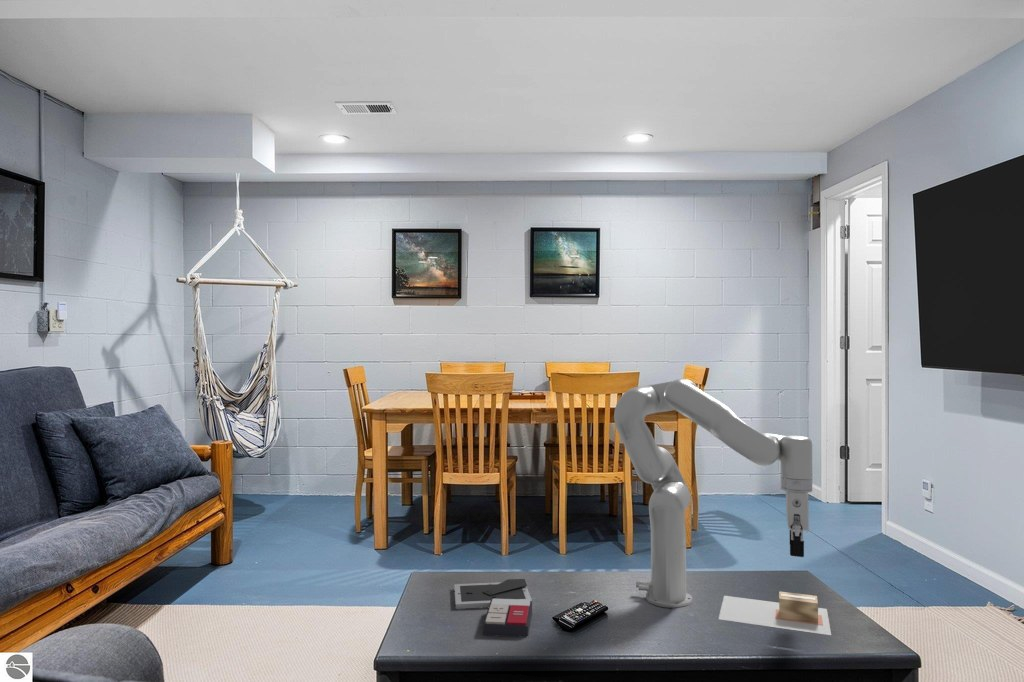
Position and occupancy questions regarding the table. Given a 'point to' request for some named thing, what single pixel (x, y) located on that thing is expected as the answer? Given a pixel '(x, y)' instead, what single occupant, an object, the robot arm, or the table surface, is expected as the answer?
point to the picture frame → (489, 593)
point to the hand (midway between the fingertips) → (796, 550)
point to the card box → (798, 607)
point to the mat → (768, 615)
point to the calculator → (508, 617)
